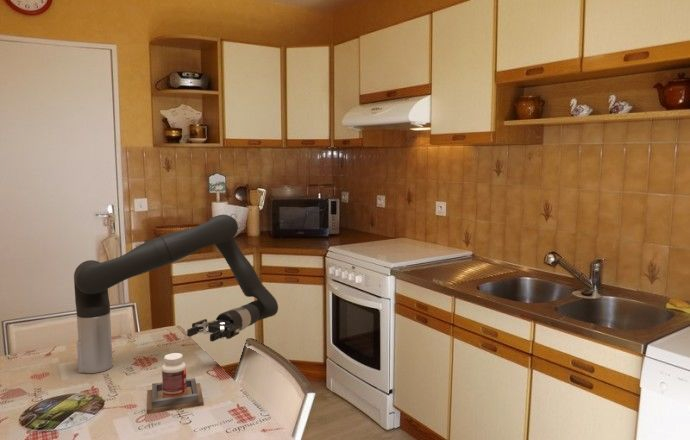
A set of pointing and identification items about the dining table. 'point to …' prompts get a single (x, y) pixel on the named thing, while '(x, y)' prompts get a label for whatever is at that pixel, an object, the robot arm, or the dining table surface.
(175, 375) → the pill bottle
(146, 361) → the dining table surface
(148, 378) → the dining table surface
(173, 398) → the grey shallow rectangular tray
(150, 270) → the robot arm
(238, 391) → the dining table surface
